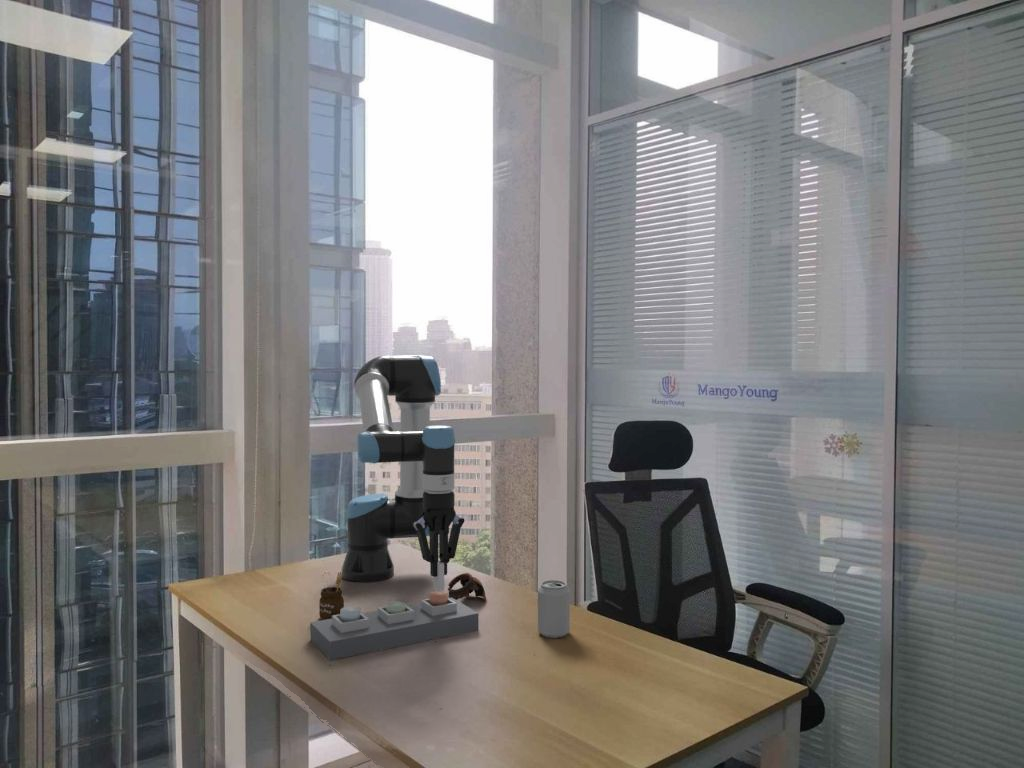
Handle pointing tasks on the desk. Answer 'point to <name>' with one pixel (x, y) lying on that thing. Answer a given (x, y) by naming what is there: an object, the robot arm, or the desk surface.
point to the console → (392, 628)
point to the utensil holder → (331, 600)
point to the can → (553, 608)
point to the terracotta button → (438, 598)
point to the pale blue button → (350, 613)
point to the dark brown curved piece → (466, 587)
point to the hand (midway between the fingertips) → (438, 589)
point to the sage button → (395, 607)
